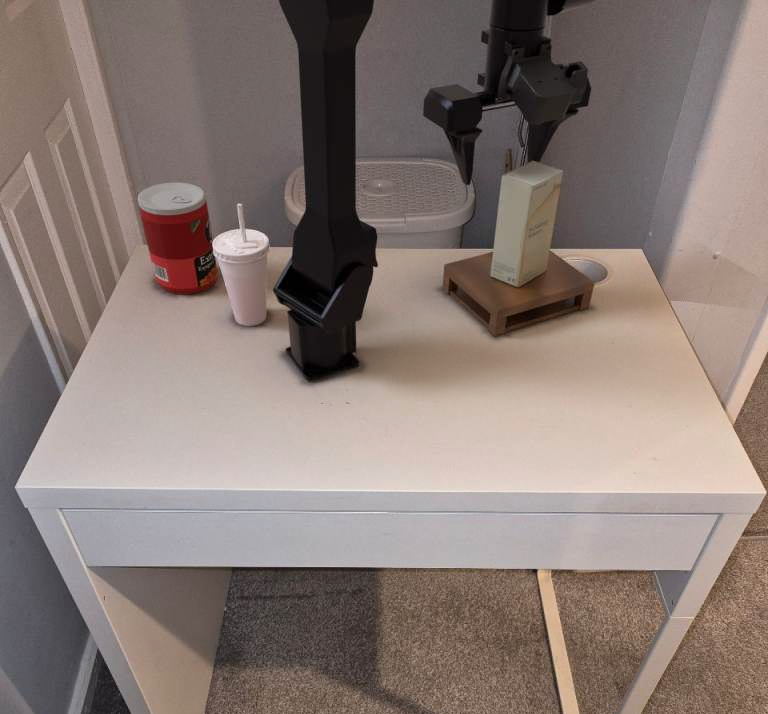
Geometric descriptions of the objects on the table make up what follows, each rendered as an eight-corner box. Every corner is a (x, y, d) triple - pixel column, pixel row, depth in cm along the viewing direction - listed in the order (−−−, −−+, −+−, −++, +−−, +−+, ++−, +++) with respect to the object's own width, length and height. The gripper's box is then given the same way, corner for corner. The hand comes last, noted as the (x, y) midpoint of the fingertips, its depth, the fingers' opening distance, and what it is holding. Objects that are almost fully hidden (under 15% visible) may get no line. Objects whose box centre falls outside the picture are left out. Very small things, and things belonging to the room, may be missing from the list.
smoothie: (254, 338, 89) (239, 222, 79) (212, 321, 91) (192, 207, 81) (287, 313, 93) (277, 199, 82) (246, 298, 95) (231, 185, 85)
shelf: (494, 336, 89) (498, 310, 87) (442, 289, 97) (444, 264, 94) (589, 307, 94) (594, 282, 92) (532, 265, 101) (536, 240, 99)
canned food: (213, 296, 95) (198, 210, 87) (149, 295, 95) (129, 208, 87) (223, 265, 100) (210, 182, 93) (163, 264, 101) (145, 181, 93)
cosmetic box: (517, 289, 90) (533, 187, 81) (488, 276, 92) (499, 175, 84) (547, 270, 93) (565, 169, 85) (518, 258, 95) (532, 158, 87)
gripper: (483, 57, 70) (468, 220, 82) (639, 32, 77) (605, 187, 88) (424, 27, 77) (417, 181, 88) (571, 6, 83) (548, 153, 95)
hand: (499, 176), depth 90 cm, fingers open, 9 cm apart
